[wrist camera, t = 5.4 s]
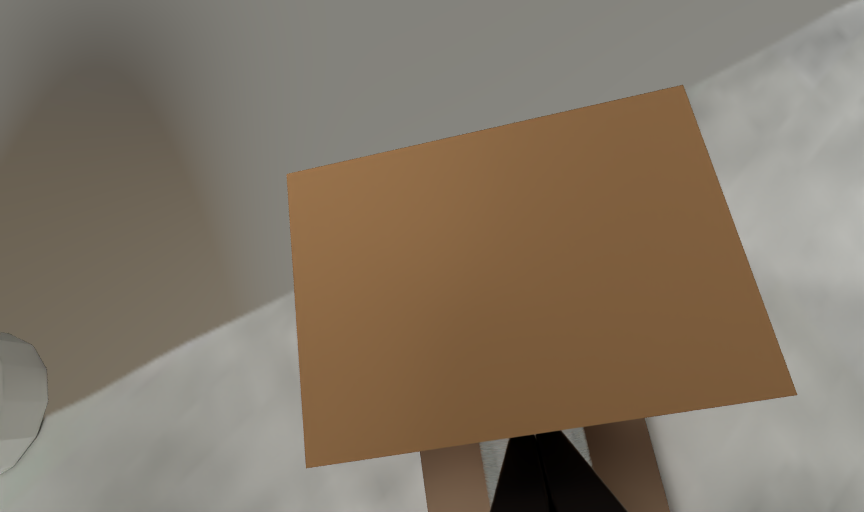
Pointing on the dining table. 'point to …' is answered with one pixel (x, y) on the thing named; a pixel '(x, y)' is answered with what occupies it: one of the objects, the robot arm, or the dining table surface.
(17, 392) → the white cup
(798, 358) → the dining table surface
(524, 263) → the tan block
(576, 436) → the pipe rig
